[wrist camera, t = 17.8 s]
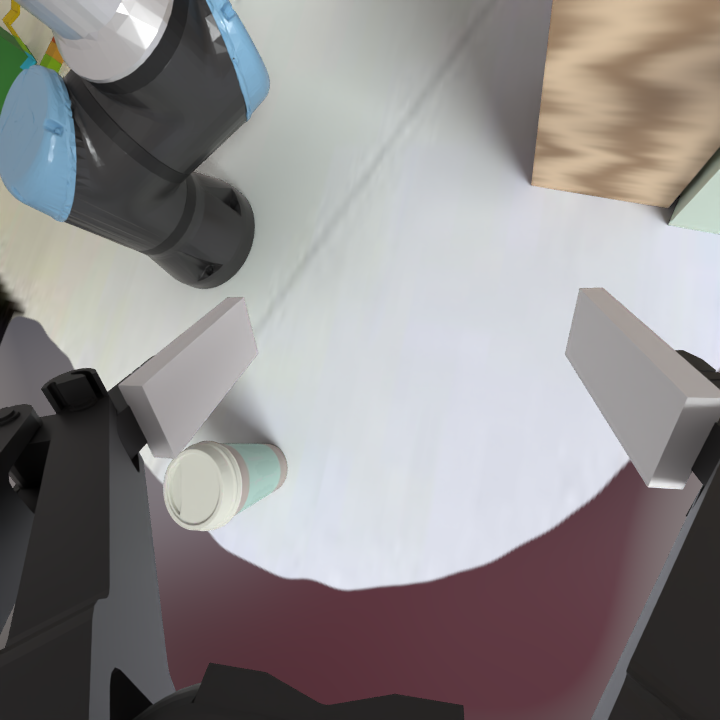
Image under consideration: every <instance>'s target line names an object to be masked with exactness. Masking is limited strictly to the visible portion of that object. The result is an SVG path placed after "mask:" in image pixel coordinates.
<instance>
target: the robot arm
mask: <svg viewBox="0 0 720 720" xmlns="http://www.w3.org/2000/svg"><path fill="white" fill-rule="evenodd" d="M14 1H15V2H17V3H18V4H19V5H20V6H22V7H23V8H24V9H26V10H27V11H28V12H30V13H31V14H32V15H33V16H35V17H36V18H37V19H39V20H40V21H41V22H43V23H44V24H45V25H47V26H48V27H49V28H50V29H52V32H53V36H54V39H55V42H56V45H57V48H58V50H59V52H60V54H61V56H62V58H63V60H64V61H65V63H66V64H67V65H68V67H70V68H71V70H70V71H69V72H68V74H67V75H66V76H65V77H63V78H62V77H61V76H60V75H59V74H58V73H57V72H56V71H55V70H52V69H48V68H46V67H44V66H41V65H32V66H30V67H29V69H24V70H23V71H22V72H21V73H20V74H19V75H18V76H17V78H16V79H15V81H14V82H13V84H12V86H11V88H10V89H9V92H8V94H7V96H6V99H5V102H4V105H3V108H2V111H1V115H0V176H1V178H2V180H3V183H4V185H5V186H6V188H7V189H8V191H9V192H10V193H11V194H12V195H13V196H14V197H15V198H16V199H18V200H19V201H21V202H22V203H24V204H26V205H28V206H30V207H32V208H34V209H36V210H39V211H41V212H43V213H45V214H47V215H49V216H51V217H52V218H54V219H55V220H57V221H60V222H66V223H68V224H71V225H74V226H76V227H79V228H81V229H84V230H86V231H89V232H91V233H94V234H96V235H99V236H101V237H104V238H106V239H109V240H111V241H114V242H116V243H119V244H121V245H124V246H126V247H129V248H131V249H134V250H136V251H139V252H141V253H144V254H146V255H148V256H149V257H150V258H151V259H152V260H153V261H155V262H156V263H157V264H158V265H159V266H161V267H162V268H163V269H164V270H165V271H166V272H168V273H169V274H170V275H171V276H172V277H173V278H175V279H176V280H178V281H180V282H182V283H184V284H187V285H190V286H192V287H195V288H200V289H208V288H213V287H216V286H219V285H221V284H223V283H224V282H226V281H227V280H229V279H230V278H231V277H232V276H234V275H235V274H236V272H237V271H238V270H239V269H240V268H241V266H242V265H243V263H244V262H245V260H246V258H247V256H248V254H249V252H250V249H251V246H252V242H253V238H254V228H255V225H254V216H253V212H252V209H251V206H250V204H249V202H248V201H247V199H246V198H245V197H244V196H243V195H242V194H241V193H240V192H239V191H238V190H236V189H235V188H234V187H232V186H231V185H230V184H228V183H226V182H224V181H222V180H219V179H216V178H213V177H209V176H206V175H203V174H199V173H196V172H193V171H194V170H195V169H196V168H197V167H198V166H199V165H200V164H201V163H202V162H204V161H205V160H206V159H207V158H208V157H209V156H210V155H211V154H212V153H213V152H214V151H215V150H216V149H217V148H218V147H219V146H220V145H221V144H222V143H224V142H225V141H226V140H227V139H228V138H229V137H230V136H231V135H232V134H233V133H234V132H235V131H236V130H237V129H238V128H239V127H240V126H241V125H242V124H243V123H245V122H247V121H248V120H249V119H250V117H251V114H252V113H253V112H254V110H255V109H256V108H257V107H258V106H259V105H260V104H261V102H262V101H263V100H264V99H265V98H266V96H267V94H268V91H269V87H270V80H269V75H268V72H267V69H266V67H265V65H264V63H263V61H262V59H261V57H260V55H259V53H258V51H257V49H256V47H255V45H254V43H253V41H252V39H251V38H250V36H249V34H248V32H247V30H246V29H245V27H244V25H243V23H242V22H241V20H240V18H239V17H238V15H237V14H236V12H235V11H234V10H233V9H232V5H231V3H230V2H229V0H14ZM257 354H258V350H257V346H256V342H255V338H254V334H253V330H252V326H251V322H250V319H249V315H248V311H247V307H246V303H245V299H244V297H227V298H226V299H225V300H224V301H222V302H221V303H220V304H219V305H217V306H216V307H215V308H214V309H212V310H211V311H210V312H209V313H207V314H206V315H205V316H204V317H202V318H201V319H200V320H199V321H197V322H196V323H195V324H194V325H192V326H191V327H190V328H189V329H187V330H186V331H185V332H184V333H182V334H181V335H180V336H179V337H177V338H176V339H175V340H174V341H172V342H171V343H170V344H169V345H167V346H166V347H165V348H164V349H162V350H161V351H160V352H159V353H157V354H156V355H155V356H153V357H151V358H149V359H148V360H147V361H146V362H144V363H143V364H142V365H141V367H138V368H137V369H136V370H134V371H133V372H132V374H129V375H128V376H127V377H126V378H124V379H123V380H122V381H121V382H119V383H118V384H117V385H116V386H114V387H113V388H112V389H111V390H109V391H108V392H107V391H106V389H105V387H104V385H103V383H102V381H101V379H100V377H99V375H98V373H97V372H96V370H95V369H91V368H82V369H77V370H73V371H69V372H67V373H64V374H61V375H59V376H57V377H55V378H53V379H51V380H50V381H49V382H47V383H46V384H45V385H44V386H43V387H42V389H41V390H42V391H43V393H44V395H45V396H46V398H47V399H48V401H49V402H50V404H51V405H52V407H53V409H54V410H55V412H56V415H50V416H44V417H39V416H38V415H37V413H36V412H35V410H34V409H33V407H32V406H31V405H27V404H22V405H15V406H12V407H6V408H2V409H0V634H1V632H2V629H3V627H4V625H5V623H6V621H7V619H8V617H9V615H10V613H11V611H12V609H13V606H14V604H15V608H14V613H13V617H12V622H11V627H10V631H9V636H8V640H7V643H6V646H5V648H4V649H2V650H0V720H464V708H463V705H458V704H452V703H446V702H440V701H434V700H427V699H422V698H416V697H410V696H404V695H398V694H392V695H386V696H380V697H374V698H368V699H362V700H357V701H350V702H345V703H339V704H333V705H324V704H320V703H318V702H316V701H315V700H313V699H311V698H310V697H308V696H306V695H304V694H303V693H301V692H299V691H297V690H296V689H294V688H292V687H290V686H289V685H287V684H285V683H283V682H282V681H280V680H278V679H277V678H275V677H273V676H272V675H270V674H268V673H266V672H261V671H255V670H249V669H244V668H237V667H232V666H226V665H220V664H214V663H209V665H208V668H207V670H206V672H205V675H204V677H203V680H202V682H201V683H198V684H195V685H192V686H189V687H186V688H183V689H181V690H178V691H176V690H175V688H174V685H173V683H172V680H171V677H170V673H169V670H168V664H167V656H166V648H165V639H164V631H163V623H162V614H161V606H160V597H159V589H158V580H157V571H156V563H155V556H154V547H153V538H152V529H151V521H150V512H149V504H148V496H147V487H146V478H145V470H144V461H143V459H142V457H141V455H140V453H139V451H140V450H141V449H142V448H143V447H144V446H145V444H146V443H147V444H148V446H149V448H150V450H151V452H152V454H153V456H154V457H158V458H174V459H176V458H177V456H178V455H179V454H180V453H181V451H182V450H183V449H184V447H185V446H186V445H187V444H188V442H189V441H190V440H191V439H192V437H193V436H194V435H195V433H196V432H197V431H198V430H199V428H200V427H201V426H202V424H203V423H204V422H205V421H206V419H207V418H208V417H209V416H210V414H211V413H212V412H213V410H214V409H215V408H216V407H217V405H218V404H219V403H220V402H221V400H222V399H223V398H224V396H225V395H226V394H227V393H228V391H229V390H230V389H231V388H232V386H233V385H234V384H235V382H236V381H237V380H238V379H239V377H240V376H241V375H242V374H243V372H244V371H245V370H246V368H247V367H248V366H249V365H250V363H251V362H252V361H253V360H254V358H255V357H256V356H257ZM565 355H566V357H567V358H568V360H569V362H570V363H571V365H572V366H573V368H574V370H575V371H576V373H577V374H578V376H579V378H580V379H581V381H582V382H583V384H584V386H585V387H586V389H587V390H588V392H589V394H590V395H591V397H592V398H593V400H594V402H595V403H596V405H597V407H598V408H599V410H600V411H601V413H602V415H603V416H604V418H605V419H606V421H607V423H608V424H609V426H610V427H611V429H612V431H613V432H614V434H615V435H616V437H617V439H618V440H619V442H620V443H621V445H622V447H623V448H624V450H625V451H626V453H627V455H628V456H629V458H630V459H631V461H632V463H633V464H634V466H635V467H636V469H637V471H638V472H639V474H640V476H641V477H642V479H643V480H644V482H645V483H646V485H647V487H654V488H671V489H683V488H684V486H685V484H686V482H687V480H688V478H689V476H690V474H691V473H692V471H693V472H694V474H695V475H696V476H697V477H698V479H699V480H700V481H701V483H702V484H703V486H702V487H701V489H700V491H699V493H698V495H697V496H696V498H695V500H694V502H693V504H692V505H691V508H690V509H689V511H688V513H687V515H686V516H687V518H686V520H685V522H684V524H683V526H682V528H681V530H680V533H679V535H678V537H677V539H676V541H675V543H674V545H673V547H672V550H671V552H670V554H669V556H668V558H667V560H666V562H665V564H664V566H663V569H662V571H661V573H660V575H659V577H658V579H657V581H656V583H655V585H654V588H653V590H652V592H651V594H650V596H649V598H648V600H647V602H646V604H645V607H644V609H643V611H642V613H641V615H640V618H639V619H638V621H637V623H636V625H635V628H634V630H633V632H632V634H631V636H630V638H629V640H628V642H627V645H626V647H625V649H624V651H623V653H622V655H621V657H620V660H619V662H618V664H617V666H616V668H615V670H614V672H613V675H612V676H611V678H610V680H609V682H608V685H607V687H606V689H605V691H604V693H603V695H602V697H601V699H600V702H599V704H598V706H597V708H596V710H595V712H594V714H593V716H592V718H591V720H720V373H719V372H716V370H715V369H714V368H712V367H711V366H710V365H709V364H708V363H706V362H705V361H704V360H703V359H701V358H698V357H696V356H694V355H692V354H690V353H688V352H686V351H684V350H674V349H673V348H671V347H670V346H669V345H668V344H667V343H666V342H665V341H663V340H662V339H661V338H660V337H659V336H658V335H656V334H655V333H654V332H653V331H652V330H651V329H650V328H648V327H647V326H646V325H645V324H644V323H643V322H642V321H640V320H639V319H638V318H637V317H636V316H635V315H634V314H632V313H631V312H630V311H629V310H628V309H627V308H626V307H624V306H623V305H622V304H621V303H620V302H619V301H618V300H616V299H615V298H614V297H613V296H612V295H611V294H609V293H608V292H607V291H606V290H605V289H604V288H580V289H579V293H578V298H577V302H576V307H575V311H574V316H573V320H572V325H571V329H570V334H569V338H568V343H567V347H566V352H565ZM9 476H10V477H11V478H12V480H13V481H14V482H15V483H16V485H15V486H14V488H12V486H11V484H10V483H9ZM15 602H16V603H15Z"/></svg>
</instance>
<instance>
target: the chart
mask: <svg viewBox="0 0 720 720" xmlns="http://www.w3.org/2000/svg"><path fill="white" fill-rule="evenodd" d="M19 15H20V5H19V4H18V3H17V2H15V1H14V0H11V10H10V11H9V12H8V14H7V15H6V16H5V17H4V18H3V22H4V23H5V25H6V26H7V28H8V29H9V30H10V32H11V33H12V35H13V36H14V37H15V39H16V40H17V42H18V43H19V44H20V46H21V47H22V49H23V50H24V51H25V53H26V54H27V56H28V58H27V59H26V60H25V61H24V63H23V64H22V65H21V66H20V68H21V69H23V70H24V69H29V67H30V66H32V65H35V63H36V62H35V59H34V58H33V56H32V55H31V53H30V52H29V51H28V49H27V48H26V46H25V45H24V43H23V42H22V41H21V39H20V38H19V36H18V35H17V34H16V32H15V31H14V29H13V28H12V26H10V25H11V24H12V23H13V22H14V21H15V20H16V18H17V17H18V16H19ZM7 23H8V24H7ZM29 57H30V58H29ZM32 59H33V60H32ZM63 61H64V60H63V58H62V56H61V54H60V52H59V50H58V48H57V45H56V42H55V39H54V36H53V39H52V41H51V43H50V45H49V47H48V49H47V51H46V53H45V55H44V57H43V59H42V61H41V63H40V65H41V66H44V67H46V68H48V69H52V70H55V71H56V72H57V73H58V71H59V69H60V67H61V65H62V63H63Z"/></svg>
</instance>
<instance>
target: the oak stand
mask: <svg viewBox="0 0 720 720" xmlns="http://www.w3.org/2000/svg"><path fill="white" fill-rule="evenodd" d="M719 147H720V0H553V3H552V11H551V20H550V28H549V37H548V45H547V54H546V63H545V71H544V80H543V88H542V97H541V105H540V114H539V123H538V131H537V140H536V148H535V157H534V165H533V174H532V182H531V185H532V186H538V187H544V188H550V189H556V190H562V191H568V192H574V193H580V194H586V195H592V196H598V197H604V198H610V199H616V200H622V201H628V202H634V203H640V204H646V205H652V206H658V207H664V208H669V207H670V205H671V204H672V203H673V202H674V201H675V199H676V198H677V197H678V196H679V195H680V194H681V192H682V191H683V190H684V189H685V188H686V186H687V185H688V184H689V183H690V182H691V180H692V179H693V178H694V177H695V176H696V175H697V173H698V172H699V171H700V170H701V169H702V167H703V166H704V165H705V164H706V163H707V161H708V160H709V159H710V158H711V157H712V155H713V154H714V153H715V152H716V151H717V150H718V148H719Z"/></svg>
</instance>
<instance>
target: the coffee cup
mask: <svg viewBox="0 0 720 720" xmlns="http://www.w3.org/2000/svg"><path fill="white" fill-rule="evenodd" d="M286 476H287V462H286V458H285V456H284V454H283V453H282V451H281V450H280V449H279V448H278V447H276V446H274V445H271V444H219V443H217V442H214V441H202V442H199V443H196V444H193V445H191V446H189V447H188V448H186V449H185V450H184V451H182V452H181V453H180V454H179V455H178V456H177V458H176V459H173V460H172V461H171V463H170V464H169V466H168V468H167V471H166V473H165V477H164V484H163V493H164V499H165V504H166V507H167V509H168V512H169V514H170V515H171V517H172V518H173V519H174V520H175V522H177V523H178V524H179V525H180V526H182V527H184V528H186V529H189V530H199V531H209V530H215V529H218V528H220V527H222V526H224V525H225V524H227V523H228V522H229V521H230V520H231V519H232V518H233V516H235V515H236V514H238V513H240V512H241V511H243V510H245V509H246V508H248V507H249V506H251V505H253V504H254V503H256V502H258V501H259V500H261V499H262V498H264V497H266V496H267V495H269V494H270V493H272V492H274V491H275V490H277V489H278V488H280V487H281V485H282V484H283V483H284V481H285V479H286Z"/></svg>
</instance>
